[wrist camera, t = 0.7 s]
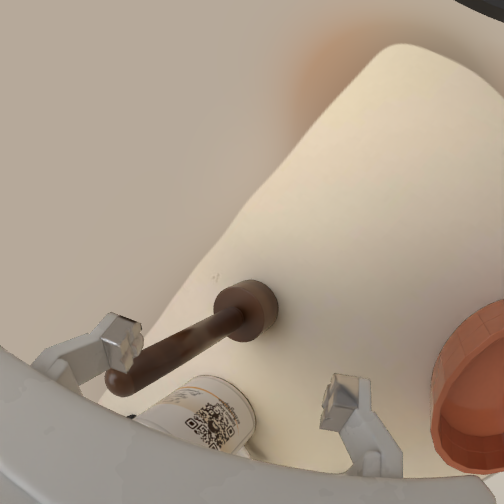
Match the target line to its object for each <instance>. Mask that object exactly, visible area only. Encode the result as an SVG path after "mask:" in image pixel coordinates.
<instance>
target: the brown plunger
mask: <svg viewBox="0 0 504 504" xmlns="http://www.w3.org/2000/svg"><path fill="white" fill-rule="evenodd" d="M213 310H214V315H212V316H210V317H208V318H206V319H204V320H202V321H200V322H198V323H196V324H194V325H192V326H190V327H188V328H186V329H184V330H182V331H180V332H178V333H176V334H174V335H172V336H170V337H168V338H166V339H164V340H162V341H160V342H158V343H156V344H154V345H151V346H149V347H147V348H145V349H143V350H142V351H141V353H140V354H139V356H138V357H135V358H133V365H132V366H131V368H130V369H129V371H128V372H127V374H126V373H123V372H120V371H118V370H115V369H113V368H110V369H108V370H107V371H106V373H105V383H106V386H107V388H108V389H109V391H110V392H111V393H113V394H114V395H116V396H119V397H128V396H130V395H132V394H134V393H136V392H138V391H139V390H141V389H143V388H144V387H146V386H148V385H149V384H151V383H153V382H155V381H156V380H158V379H160V378H161V377H163V376H165V375H166V374H168V373H169V372H171V371H173V370H174V369H176V368H178V367H179V366H181V365H182V364H184V363H186V362H187V361H189V360H191V359H192V358H194V357H195V356H197V355H199V354H200V353H202V352H203V351H205V350H206V349H208V348H210V347H211V346H213V345H214V344H216V343H217V342H219V341H220V340H222V339H224V338H225V337H229V338H230V339H232V340H235V341H238V342H249V341H252V340H254V339H255V338H257V337H258V336H259V335H261V334H262V333H263V332H264V331H266V330H267V329H268V328H269V327H271V326H272V325H273V323H274V322H275V320H276V318H277V314H278V304H277V300H276V298H275V296H274V294H273V292H272V291H271V290H270V289H269V288H268V287H267V286H266V285H265V284H263V283H261V282H259V281H255V280H245V281H242V282H240V283H238V284H235V285H233V286H231V287H228V288H226V289H224V290H223V291H221V292H220V293H219V294H218V296H217V298H216V300H215V302H214V309H213Z"/></svg>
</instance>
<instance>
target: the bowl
mask: <svg viewBox="0 0 504 504" xmlns="http://www.w3.org/2000/svg"><path fill="white" fill-rule="evenodd" d="M430 432H431V435H432V439H433V443H434V447H435V450H436V452H437V453H438V454H439V455H440V456H441V458H442V459H443V460H444V461H445V462H446V464H447V465H449V466H451V467H453V468H455V469H458V470H460V471H462V472H464V473H471V474H481V475H486V474H492V473H498V472H503V471H504V299H503V300H499V301H496V302H494V303H491V304H489V305H487V306H485V307H483V308H482V309H480V310H478V311H477V312H476V313H474V314H473V315H471V316H470V317H469V318H468V319H466V320H465V321H464V322H463V323H462V324H461V325H460V326H459V327H458V328H457V329H456V330H455V331H454V333H453V334H452V335H451V336H450V338H449V339H448V340H447V342H446V344H445V345H444V347H443V348H442V350H441V352H440V354H439V356H438V358H437V361H436V364H435V366H434V370H433V374H432V378H431V392H430Z"/></svg>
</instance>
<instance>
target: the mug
mask: <svg viewBox="0 0 504 504" xmlns="http://www.w3.org/2000/svg"><path fill="white" fill-rule="evenodd" d="M132 420H134V421H137V422H139V423H141V424H144V425H146V426H149V427H151V428H154V429H156V430H159V431H162V432H164V433H167V434H170V435H173V436H175V437H178V438H181V439H184V440H187V441H190V442H193V443H196V444H199V445H203V446H206V447H209V448H212V449H216V450H219V451H223V452H226V453H230V454H234V455H237V456H241V457H245V458H249V459H252V458H251V456H250V454H249V452H248V451H247V450H246V448H245V447H244V445H245V444H246V442H247V441H248V440H249V439H250V438H251V437H252V435H253V433H254V430H255V416H254V412H253V410H252V408H251V406H250V404H249V402H248V401H247V399H246V398H245V397H244V396H243V394H242V393H241V392H240V391H239V390H237V389H236V388H235V387H234V386H232V385H231V384H229V383H228V382H226V381H224V380H222V379H220V378H217V377H213V376H197V377H195V378H193V379H191V380H190V381H188V382H187V383H185V384H184V385H182V386H181V387H180V388H178V389H177V390H175V391H174V392H172V393H171V394H169V395H168V396H166V397H165V398H163V399H162V400H160V401H159V402H157V403H156V404H154V405H153V406H151V407H150V408H148V409H147V410H145V411H144V412H142V413H141V414H139V415H138V416H136V417H134V418H133V419H132Z"/></svg>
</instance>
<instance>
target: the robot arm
mask: <svg viewBox="0 0 504 504" xmlns="http://www.w3.org/2000/svg"><path fill="white" fill-rule="evenodd" d="M141 330H142V326H141V323H139V322H136V321H134V320H131V319H128V318H126V317H123V316H121V315H118V314H115V313H113V312H110V313H108V314H107V315H106V316H105V317H104V318H103V319H102V321H101V322H100V323H99V324H98V325H97V326H96V327H95V328H94V330H93V331H92V332H91V333H90V334H88V333H87V334H84V335H81V336H78V337H76V338H73V339H70V340H68V341H65V342H63V343H60V344H57V345H54V346H51V347H49V348H46V349H45V350H44V351H43V352H42V353H41V354H40V355H39V356H38V358H37V359H36V360H35V361H34V362H33V363H32V364H31V365H30V366H29V365H28V364H26V363H25V362H23V361H22V360H20V359H19V358H17V357H15V356H14V355H13V354H11V353H10V352H8V351H7V350H5V349H4V348H3V347H1V346H0V504H496V499H495V496H494V495H493V493H492V492H491V491H490V489H489V488H488V487H487V486H486V485H485V483H484V482H483V481H482V480H481V479H480V478H479V477H478V476H475V475H465V476H454V477H437V478H403V452H402V451H401V449H400V448H399V446H398V445H397V443H396V442H395V440H394V439H393V438H392V436H391V435H390V433H389V432H388V430H387V429H386V427H385V426H384V424H383V423H382V422H381V420H380V419H379V417H378V416H377V414H376V413H375V412H372V410H371V381H370V379H367V378H361V377H355V376H349V375H343V374H337V373H334V374H333V375H332V378H331V383H330V384H329V385H328V386H327V388H326V390H325V394H324V397H323V403H322V407H323V409H324V411H323V412H322V414H321V419H320V428H319V429H324V430H330V431H335V432H339V434H340V437H341V439H342V441H343V443H344V445H345V447H346V449H347V451H348V453H349V455H350V457H351V460H352V462H353V465H352V466H351V467H350V468H349V469H348V470H347V471H346V472H345V473H344V474H343V475H342V474H333V473H325V472H317V471H311V470H304V469H298V468H292V467H287V466H282V465H276V464H272V463H267V462H262V461H258V460H254V459H249V458H245V457H241V456H237V455H234V454H230V453H226V452H223V451H219V450H216V449H212V448H209V447H206V446H203V445H199V444H196V443H193V442H190V441H187V440H184V439H181V438H178V437H175V436H173V435H170V434H167V433H164V432H162V431H159V430H156V429H154V428H151V427H149V426H146V425H144V424H141V423H139V422H137V421H134V420H132V419H130V418H127V417H125V416H123V415H120V414H118V413H116V412H114V411H112V410H110V409H107V408H105V407H103V406H101V405H99V404H97V403H95V402H93V401H91V400H89V399H87V398H85V397H83V394H82V393H81V390H80V388H79V385H81V384H83V383H85V382H87V381H89V380H90V379H92V378H94V377H96V376H98V375H100V374H101V373H103V372H105V371H107V370H108V369H110V368H113V369H115V370H118V371H120V372H123V373H126V374H127V372H128V371H129V369H130V368H131V366H132V365H133V358H135V357H138V356H139V354H140V353H141V351H142V348H143V344H144V338H143V336H142V334H141V333H140V331H141Z"/></svg>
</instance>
